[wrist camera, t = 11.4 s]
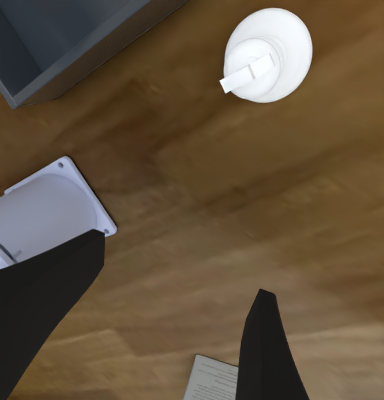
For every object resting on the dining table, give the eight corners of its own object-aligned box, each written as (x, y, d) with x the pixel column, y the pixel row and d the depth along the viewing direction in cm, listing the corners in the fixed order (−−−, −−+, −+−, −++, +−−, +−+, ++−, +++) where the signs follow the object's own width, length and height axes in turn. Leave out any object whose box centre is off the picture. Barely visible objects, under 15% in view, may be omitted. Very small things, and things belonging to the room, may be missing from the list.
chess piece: (211, 39, 17) (138, 38, 9) (293, -13, 15) (297, -78, 7) (245, 115, 19) (208, 175, 10) (324, 78, 17) (358, 116, 8)
